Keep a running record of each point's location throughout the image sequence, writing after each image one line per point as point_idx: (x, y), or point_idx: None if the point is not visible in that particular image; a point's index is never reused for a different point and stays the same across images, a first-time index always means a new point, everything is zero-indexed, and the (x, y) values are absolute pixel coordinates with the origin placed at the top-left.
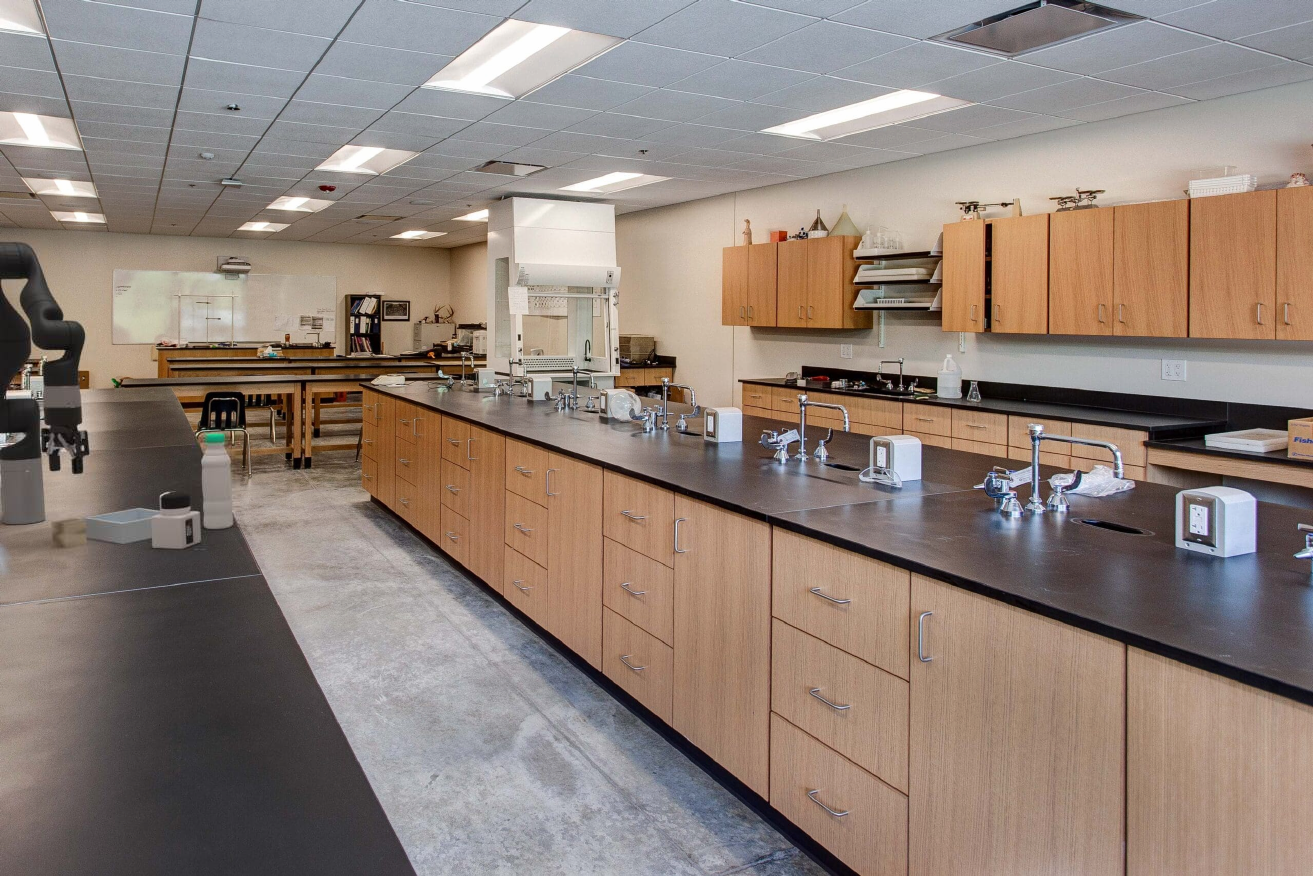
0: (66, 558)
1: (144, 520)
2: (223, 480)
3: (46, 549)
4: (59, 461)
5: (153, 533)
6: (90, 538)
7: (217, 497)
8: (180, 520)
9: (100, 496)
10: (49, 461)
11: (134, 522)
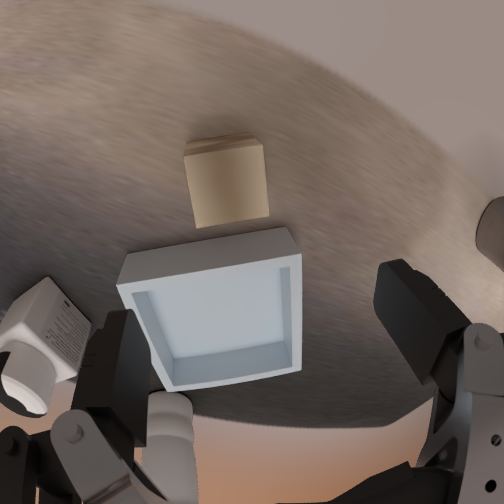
0: (65, 103)
1: None
2: None
3: (217, 103)
4: (401, 348)
5: (32, 297)
6: (257, 231)
7: (143, 447)
8: None
9: None
10: (434, 298)
11: None
